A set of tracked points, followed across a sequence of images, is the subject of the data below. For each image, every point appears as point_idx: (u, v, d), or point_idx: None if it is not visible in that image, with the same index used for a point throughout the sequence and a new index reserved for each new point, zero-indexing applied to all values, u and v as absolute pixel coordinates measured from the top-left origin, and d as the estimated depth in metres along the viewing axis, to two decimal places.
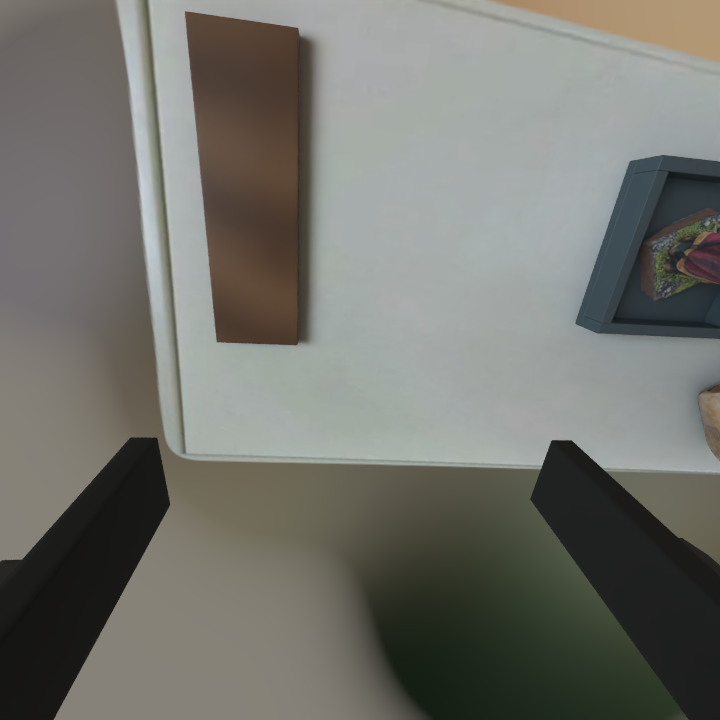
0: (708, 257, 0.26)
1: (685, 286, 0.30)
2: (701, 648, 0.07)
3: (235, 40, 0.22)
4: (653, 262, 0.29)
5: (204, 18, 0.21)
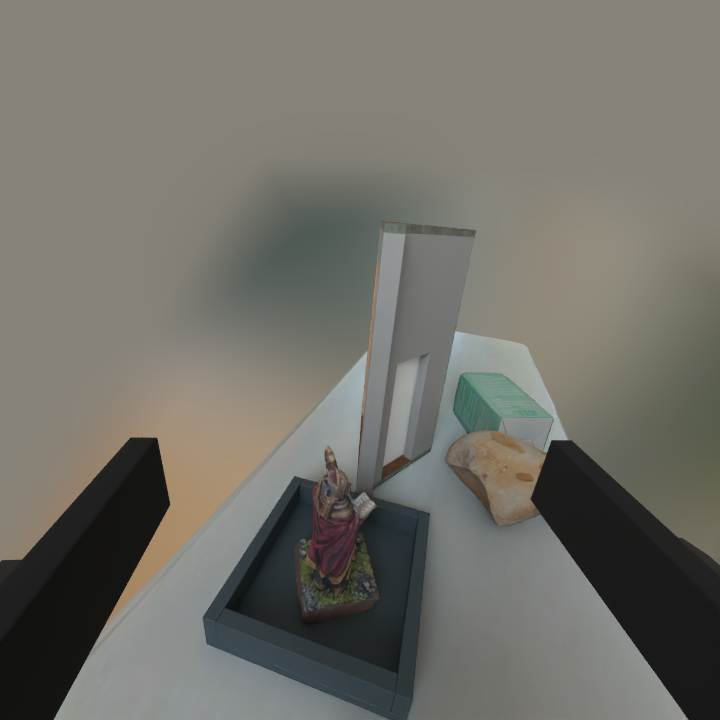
0: (325, 559, 0.24)
1: (367, 564, 0.27)
2: (701, 648, 0.07)
3: None
4: (329, 606, 0.24)
5: None
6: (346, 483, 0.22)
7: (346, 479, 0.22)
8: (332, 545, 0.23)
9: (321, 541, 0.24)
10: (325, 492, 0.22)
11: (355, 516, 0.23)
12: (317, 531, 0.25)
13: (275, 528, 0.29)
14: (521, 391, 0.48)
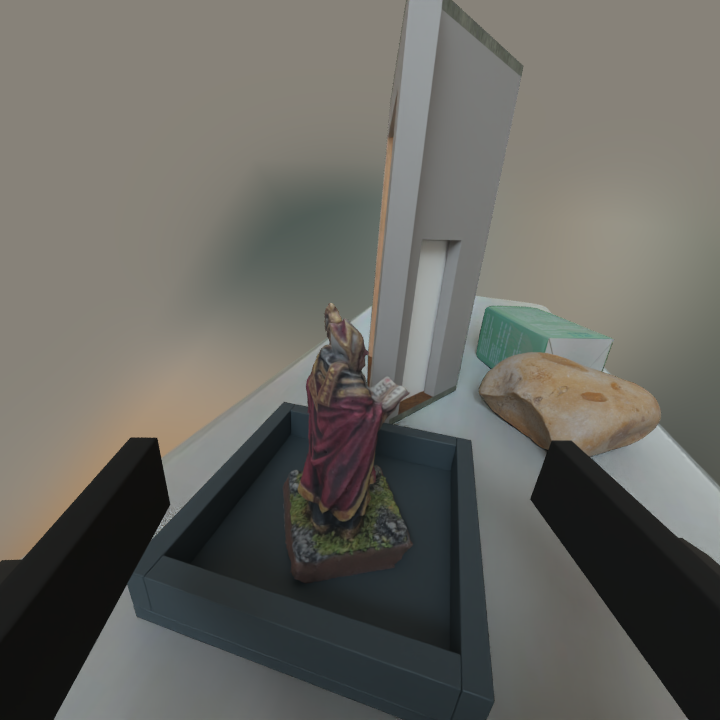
0: (328, 480, 0.15)
1: (390, 500, 0.18)
2: (701, 648, 0.07)
3: None
4: (336, 556, 0.15)
5: None
6: (361, 342, 0.13)
7: (361, 337, 0.13)
8: (338, 451, 0.14)
9: (320, 452, 0.15)
10: (326, 358, 0.13)
11: (376, 405, 0.14)
12: (315, 439, 0.16)
13: (255, 457, 0.20)
14: (563, 319, 0.39)
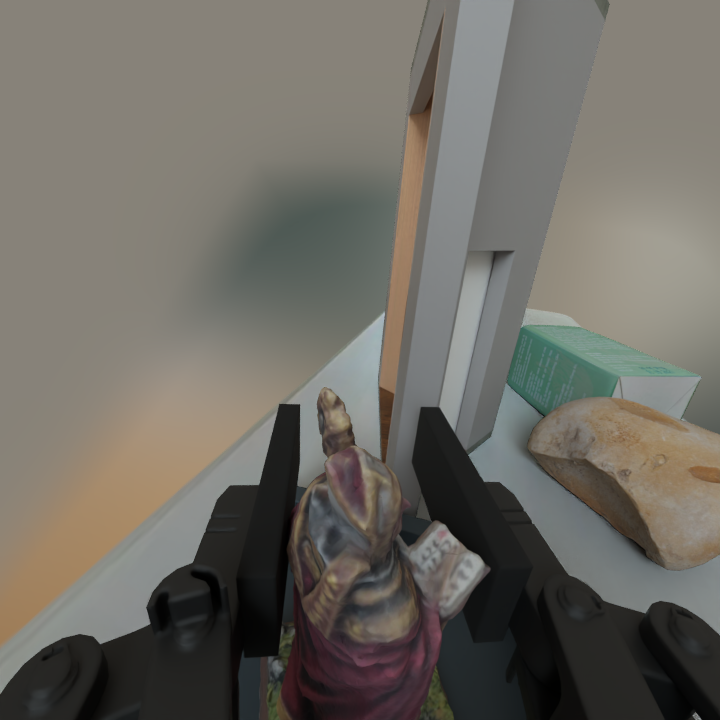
0: None
1: (436, 693, 0.11)
2: None
3: None
4: None
5: None
6: (399, 503, 0.06)
7: (398, 489, 0.06)
8: (350, 716, 0.07)
9: (314, 680, 0.08)
10: (320, 540, 0.06)
11: (427, 612, 0.07)
12: (304, 643, 0.08)
13: None
14: (622, 345, 0.32)
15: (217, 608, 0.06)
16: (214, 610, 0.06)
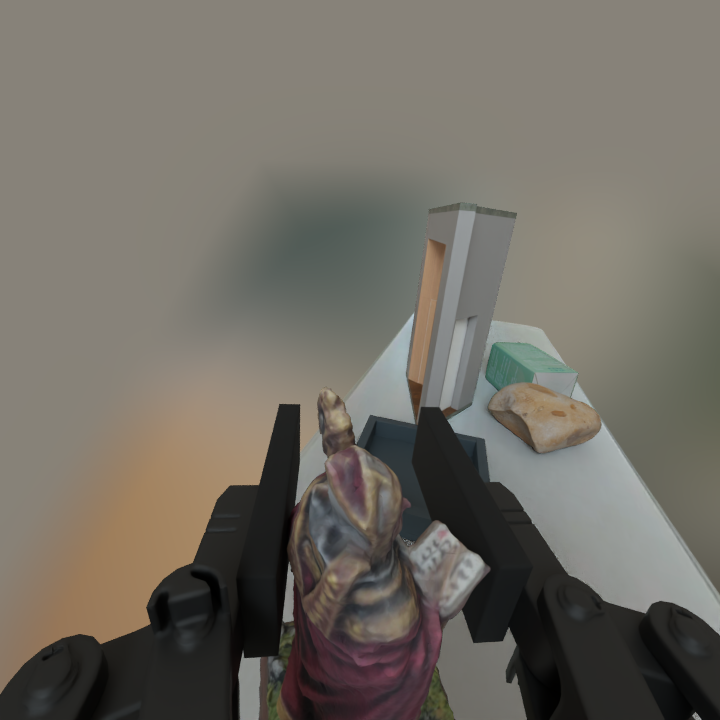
0: None
1: (436, 693, 0.11)
2: None
3: None
4: None
5: None
6: (399, 503, 0.06)
7: (398, 489, 0.06)
8: (350, 716, 0.07)
9: (314, 680, 0.08)
10: (320, 539, 0.06)
11: (427, 612, 0.07)
12: (304, 643, 0.08)
13: (366, 447, 0.37)
14: (548, 355, 0.55)
15: (217, 608, 0.06)
16: (214, 610, 0.06)
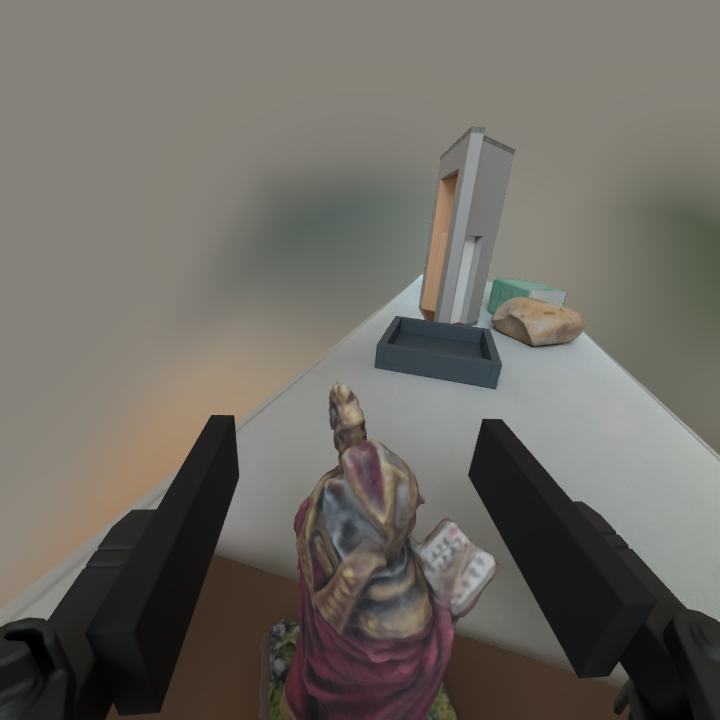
0: None
1: (439, 694, 0.11)
2: (573, 588, 0.08)
3: None
4: None
5: None
6: (415, 498, 0.06)
7: (414, 484, 0.06)
8: (360, 714, 0.07)
9: (322, 678, 0.08)
10: (335, 534, 0.06)
11: (439, 609, 0.07)
12: (311, 641, 0.08)
13: (395, 330, 0.46)
14: (541, 284, 0.65)
15: (50, 667, 0.05)
16: (46, 670, 0.05)
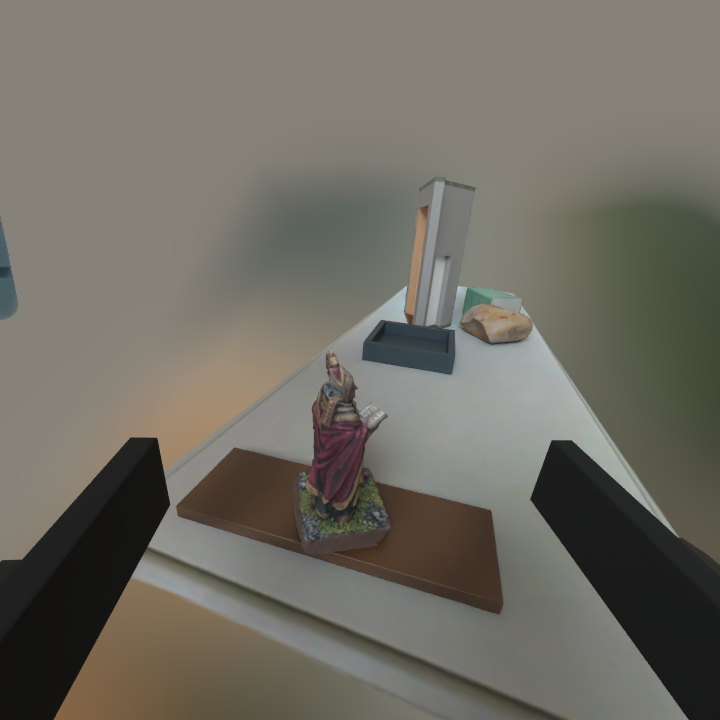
0: (329, 479, 0.21)
1: (376, 495, 0.24)
2: (701, 648, 0.07)
3: (216, 480, 0.26)
4: (334, 536, 0.21)
5: (190, 494, 0.25)
6: (351, 382, 0.19)
7: (351, 378, 0.19)
8: (335, 459, 0.20)
9: (323, 459, 0.21)
10: (327, 393, 0.19)
11: (362, 425, 0.20)
12: (319, 449, 0.21)
13: (379, 331, 0.60)
14: (505, 293, 0.78)
15: None
16: None
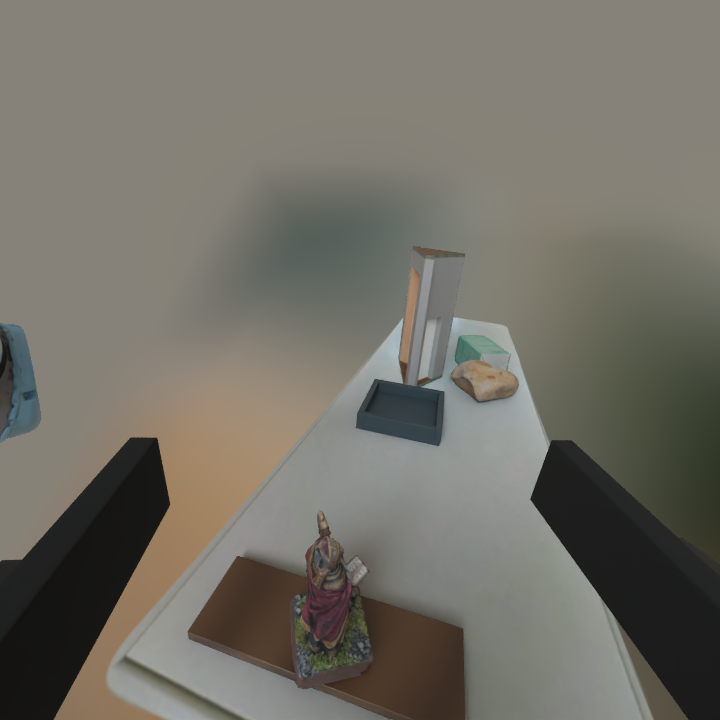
0: (319, 624, 0.24)
1: (361, 621, 0.28)
2: (701, 648, 0.07)
3: (221, 599, 0.29)
4: (324, 671, 0.25)
5: (199, 617, 0.28)
6: (338, 554, 0.22)
7: (338, 550, 0.23)
8: (325, 613, 0.23)
9: (314, 606, 0.24)
10: (317, 563, 0.22)
11: (348, 584, 0.23)
12: (311, 595, 0.25)
13: (373, 394, 0.63)
14: (494, 343, 0.82)
15: None
16: None
